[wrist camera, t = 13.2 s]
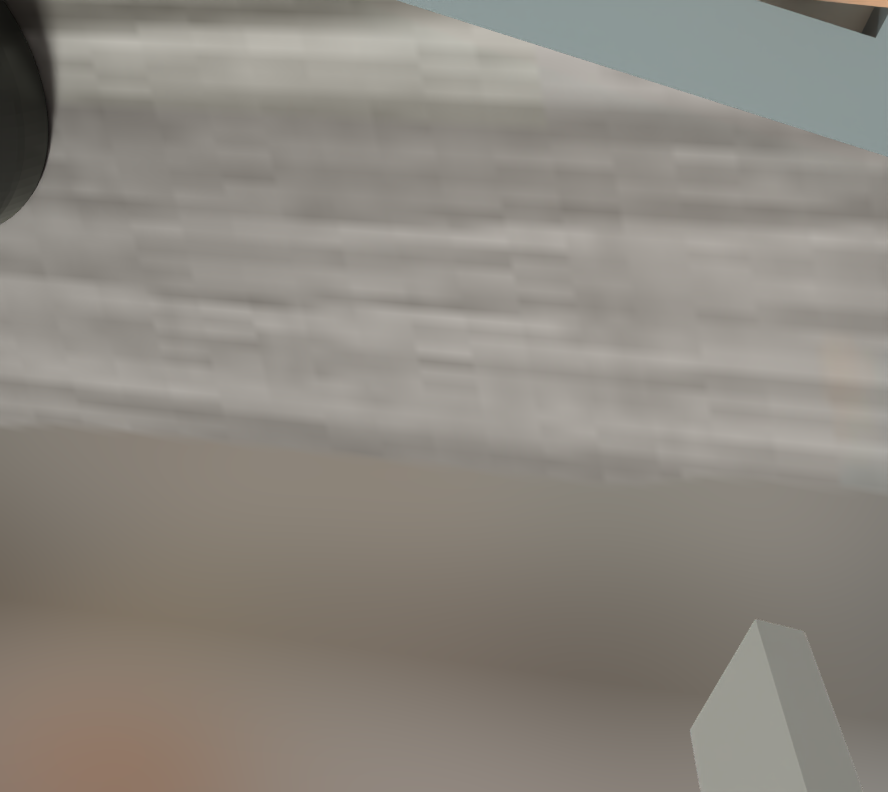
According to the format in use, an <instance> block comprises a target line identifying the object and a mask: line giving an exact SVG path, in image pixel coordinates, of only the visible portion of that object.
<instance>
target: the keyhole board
mask: <svg viewBox="0 0 888 792" xmlns="http://www.w3.org/2000/svg"><path fill="white" fill-rule="evenodd" d="M398 1H401V2H404V3H407V4H411V5H414V6H417V7H420V8H423V9H426V10H429V11H432V12H436V13H439V14H442V15H445V16H448V17H451V18H454V19H458V20H461V21H464V22H467V23H470V24H473V25H476V26H480V27H483V28H486V29H489V30H492V31H495V32H498V33H501V34H505V35H508V36H511V37H514V38H517V39H520V40H523V41H527V42H530V43H533V44H536V45H539V46H542V47H545V48H549V49H552V50H555V51H558V52H561V53H564V54H567V55H570V56H574V57H577V58H580V59H583V60H586V61H589V62H592V63H596V64H599V65H602V66H605V67H608V68H611V69H614V70H618V71H621V72H624V73H627V74H630V75H633V76H636V77H639V78H643V79H646V80H649V81H652V82H655V83H658V84H661V85H665V86H668V87H671V88H674V89H677V90H680V91H683V92H687V93H690V94H693V95H696V96H699V97H702V98H705V99H708V100H712V101H715V102H718V103H721V104H724V105H727V106H730V107H734V108H737V109H740V110H743V111H746V112H749V113H752V114H756V115H759V116H762V117H765V118H768V119H771V120H774V121H777V122H781V123H784V124H787V125H790V126H793V127H796V128H799V129H803V130H806V131H809V132H812V133H815V134H818V135H821V136H825V137H828V138H831V139H834V140H837V141H840V142H843V143H846V144H850V145H853V146H856V147H859V148H862V149H865V150H868V151H872V152H875V153H878V154H881V155H884V156H887V157H888V8H887V7H877V6H867V5H857V4H847V3H838V2H828V1H818V0H398Z"/></svg>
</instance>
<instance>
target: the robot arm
mask: <svg viewBox="0 0 888 792" xmlns="http://www.w3.org/2000/svg"><path fill="white" fill-rule="evenodd" d="M47 144H48V118H47V108H46V102H45V96H44V91H43V87H42V83H41V79H40V76H39V73H38V69H37V67H36V64H35V61H34V58H33V56H32V53H31V51H30V48H29V46H28V44H27V42H26V40H25V38H24V36H23V34H22V32H21V30H20V28H19V26H18V24H17V23H16V21H15V19H14V17H13V16H12V14H11V13H10V11H9V9H8V8H7V6H6V5H5V3H4V2H3V1H2V0H0V224H2V223H4V222H5V221H7V220H8V219H10V218H11V217H12V216H13V215H15V214H16V213H17V212H18V211H19V210H20V209H21V208H22V207H23V206H24V205H25V203H26V202H27V201H28V199H29V198H30V196H31V195H32V193H33V192H34V190H35V188H36V186H37V184H38V181H39V179H40V176H41V174H42V170H43V167H44V163H45V158H46V152H47ZM690 734H691V740H692V746H693V752H694V758H695V763H696V769H697V775H698V781H699V787H700V792H864V791H863V788H862V786H861V783H860V780H859V777H858V775H857V772H856V769H855V767H854V764H853V761H852V758H851V756H850V753H849V750H848V748H847V745H846V742H845V739H844V737H843V734H842V731H841V729H840V726H839V723H838V720H837V718H836V715H835V712H834V710H833V707H832V704H831V701H830V699H829V696H828V693H827V691H826V688H825V685H824V682H823V680H822V677H821V674H820V672H819V669H818V666H817V663H816V661H815V658H814V656H813V653H812V650H811V647H810V645H809V642H808V639H807V637H806V634H805V631H803V630H799V629H795V628H790V627H787V626H783V625H778V624H774V623H770V622H766V621H762V620H758V619H755V620H754V622H753V624H752V625H751V627H750V629H749V630H748V632H747V634H746V636H745V637H744V639H743V641H742V642H741V644H740V646H739V647H738V649H737V651H736V653H735V654H734V656H733V658H732V659H731V661H730V663H729V665H728V666H727V668H726V670H725V671H724V673H723V675H722V676H721V678H720V680H719V682H718V683H717V685H716V687H715V689H714V690H713V692H712V693H711V695H710V697H709V698H708V700H707V702H706V704H705V705H704V707H703V709H702V711H701V712H700V714H699V716H698V717H697V719H696V721H695V722H694V724H693V726H692V727H691V729H690Z"/></svg>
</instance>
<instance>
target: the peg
mask: <svg viewBox="0 0 888 792" xmlns="http://www.w3.org/2000/svg"><path fill="white" fill-rule="evenodd" d="M818 1H828V2H838V3H847V4H857V5H867V6H877V7H887V8H888V0H818Z"/></svg>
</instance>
